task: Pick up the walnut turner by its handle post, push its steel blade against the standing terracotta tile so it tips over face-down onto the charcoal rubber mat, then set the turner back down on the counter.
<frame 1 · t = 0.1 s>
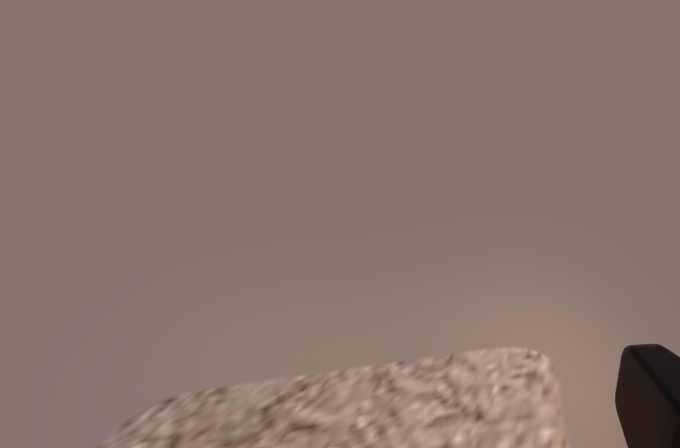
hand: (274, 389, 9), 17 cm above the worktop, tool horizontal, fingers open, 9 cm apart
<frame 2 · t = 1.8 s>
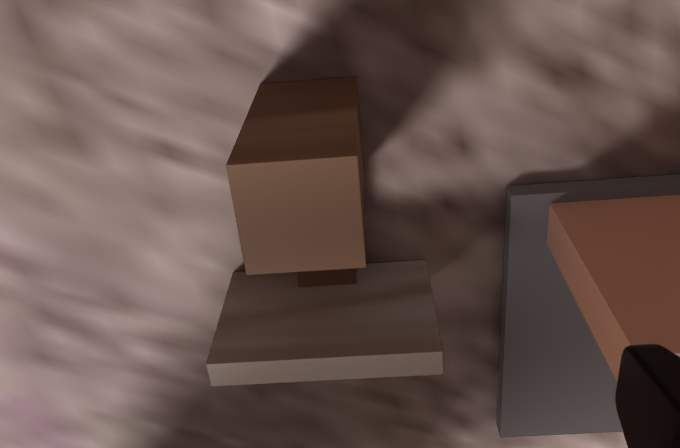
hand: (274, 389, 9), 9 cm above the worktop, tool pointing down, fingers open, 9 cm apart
walnut turner: (313, 125, 17), on the worktop
slate mat: (637, 309, 19), on the worktop
glazed tile: (663, 215, 17), point 1 cm above the worktop, touching slate mat
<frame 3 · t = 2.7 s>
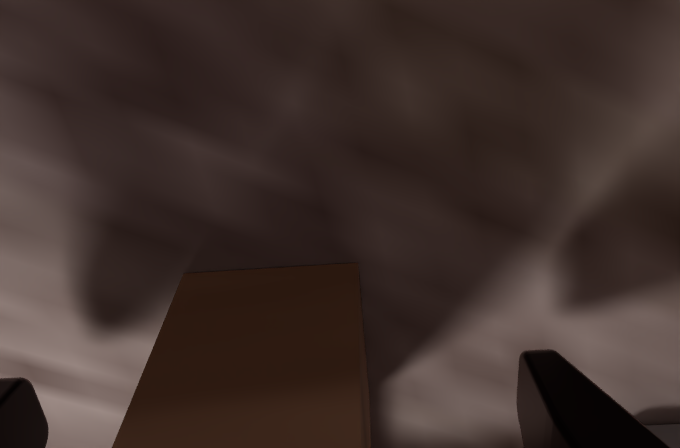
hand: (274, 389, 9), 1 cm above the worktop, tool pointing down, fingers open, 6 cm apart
walnut turner: (281, 337, 9), on the worktop
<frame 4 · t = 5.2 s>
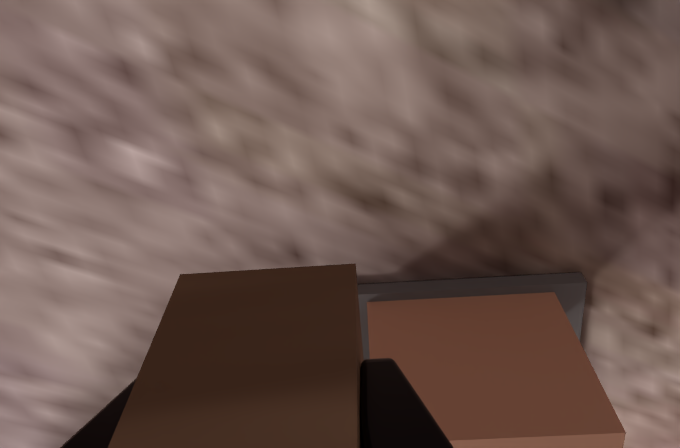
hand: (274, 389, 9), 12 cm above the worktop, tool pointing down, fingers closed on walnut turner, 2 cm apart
walnut turner: (278, 338, 9), point 11 cm above the worktop, touching gripper
slate mat: (455, 382, 23), on the worktop
glazed tile: (459, 312, 21), point 1 cm above the worktop, touching slate mat
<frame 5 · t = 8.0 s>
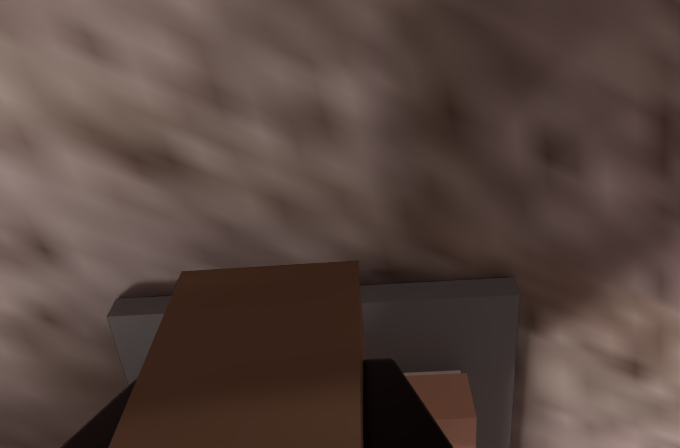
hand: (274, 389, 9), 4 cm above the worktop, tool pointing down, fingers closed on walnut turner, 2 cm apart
walnut turner: (280, 336, 9), point 3 cm above the worktop, touching gripper
slate mat: (330, 443, 15), on the worktop
glazed tile: (315, 401, 13), point 1 cm above the worktop, tilted 90°, touching slate mat
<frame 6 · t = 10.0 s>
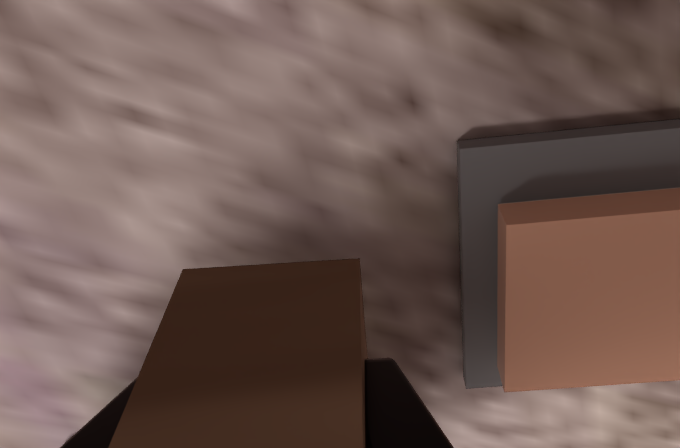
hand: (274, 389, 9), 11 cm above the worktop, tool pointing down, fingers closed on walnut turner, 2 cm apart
walnut turner: (281, 334, 9), point 10 cm above the worktop, touching gripper
slate mat: (590, 260, 20), on the worktop
glazed tile: (614, 204, 18), point 1 cm above the worktop, tilted 90°, touching slate mat
when the fingers open (2 cm above the worktop, at t = 12.0 s): walnut turner drops 1 cm, on the worktop.
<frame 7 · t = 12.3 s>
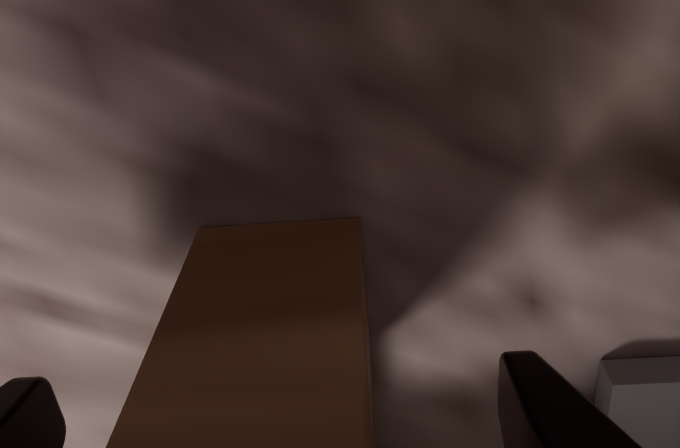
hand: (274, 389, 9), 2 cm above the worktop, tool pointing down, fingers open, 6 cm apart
walnut turner: (288, 289, 10), on the worktop
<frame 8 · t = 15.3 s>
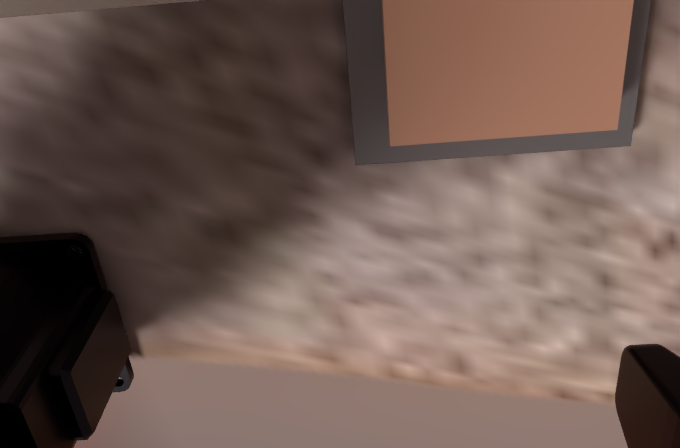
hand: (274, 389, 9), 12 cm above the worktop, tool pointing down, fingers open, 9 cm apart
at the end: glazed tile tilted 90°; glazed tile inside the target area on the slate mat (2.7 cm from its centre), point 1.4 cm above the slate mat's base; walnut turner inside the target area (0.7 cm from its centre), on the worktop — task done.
